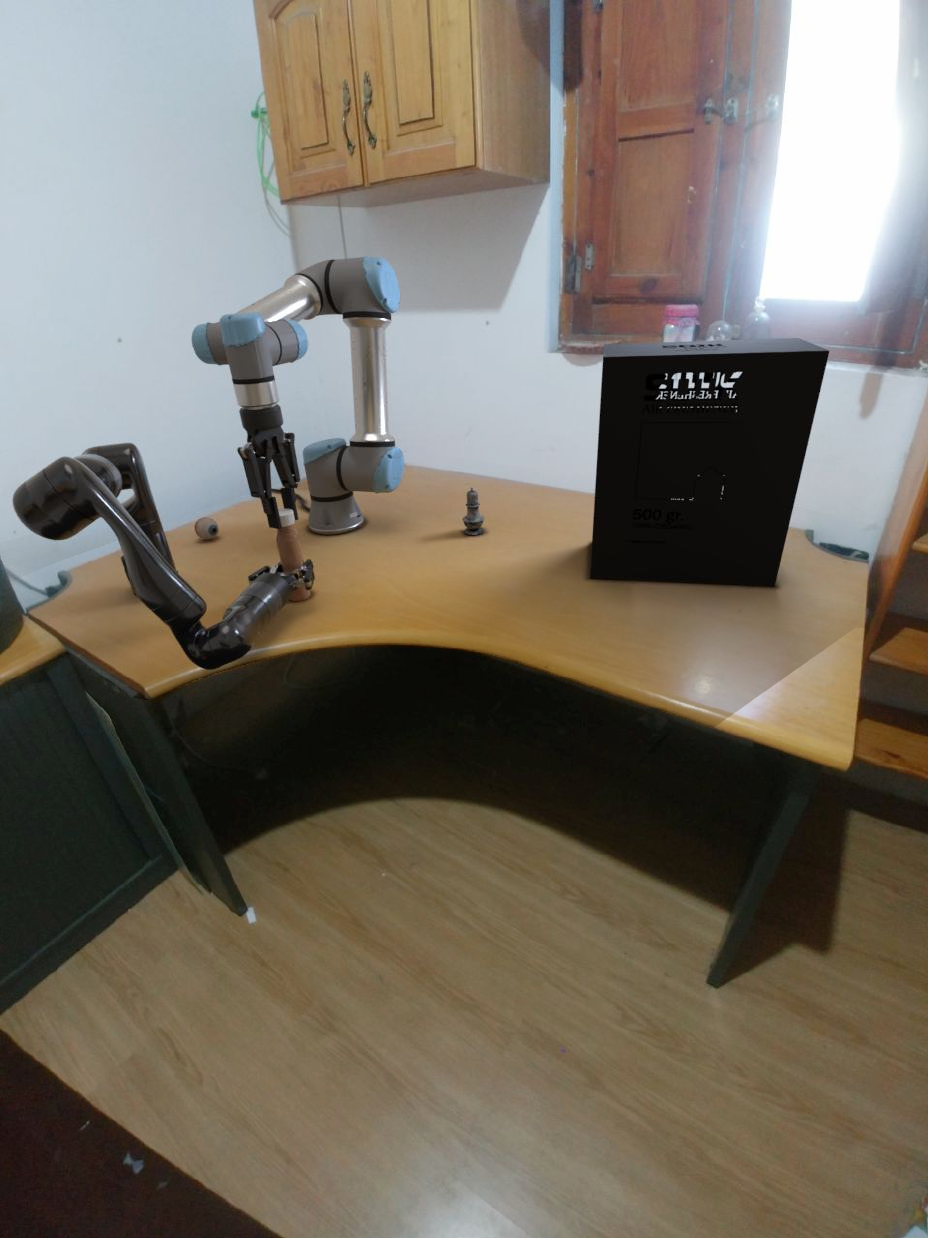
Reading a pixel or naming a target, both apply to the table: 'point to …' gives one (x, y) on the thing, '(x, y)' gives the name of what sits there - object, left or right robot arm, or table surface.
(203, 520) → the eyeball
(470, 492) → the salt shaker
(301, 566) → the left robot arm
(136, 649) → the table surface
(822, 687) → the table surface
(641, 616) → the table surface
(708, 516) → the cardboard box
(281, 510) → the cap
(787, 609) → the table surface
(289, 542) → the bottle
